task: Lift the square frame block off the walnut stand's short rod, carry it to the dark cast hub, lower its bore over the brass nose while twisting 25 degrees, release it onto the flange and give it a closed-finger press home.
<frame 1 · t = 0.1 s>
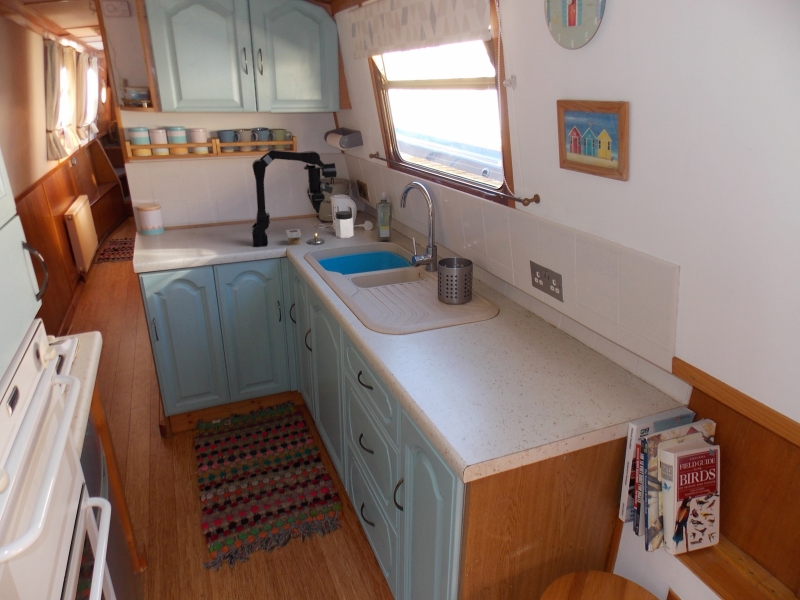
hand: (316, 211, 273), 15 cm above the worktop, fingers open, 9 cm apart
square frame block: (293, 236, 271), point 4 cm above the worktop, touching stand
stand: (294, 244, 272), on the worktop
hub: (316, 242, 274), on the worktop
jar: (344, 236, 285), on the worktop
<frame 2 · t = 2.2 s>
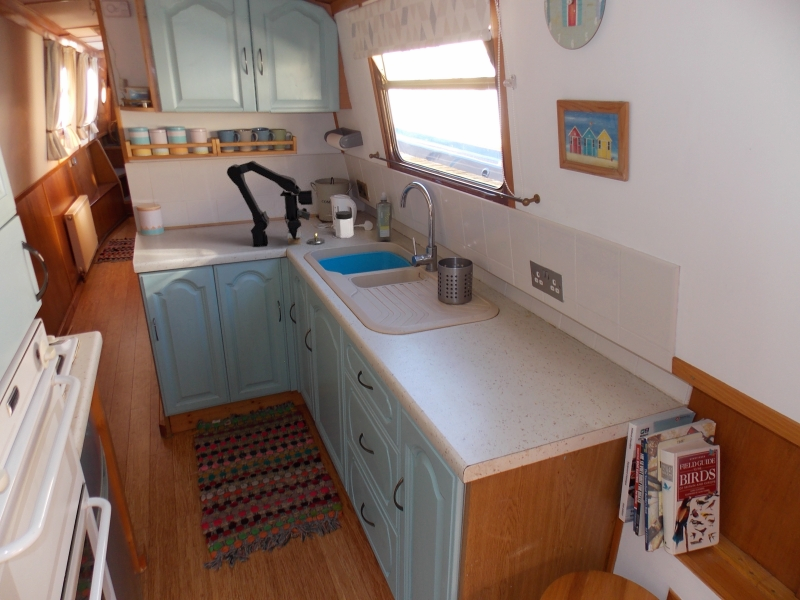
hand: (293, 237, 271), 3 cm above the worktop, fingers closed on square frame block, 7 cm apart
square frame block: (293, 236, 271), point 4 cm above the worktop, touching gripper, stand
everything else where it was.
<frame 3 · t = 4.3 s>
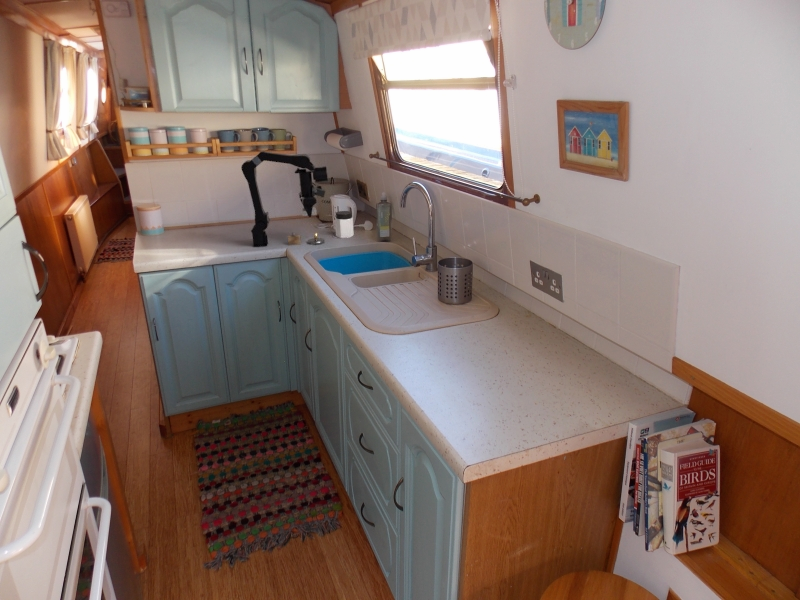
hand: (309, 215, 269), 14 cm above the worktop, fingers closed on square frame block, 7 cm apart
square frame block: (308, 213, 269), point 14 cm above the worktop, touching gripper
everything else where it was.
when the fingers open (2 cm above the worktop, at t = 6.7 s): square frame block drops 2 cm, resting on hub.
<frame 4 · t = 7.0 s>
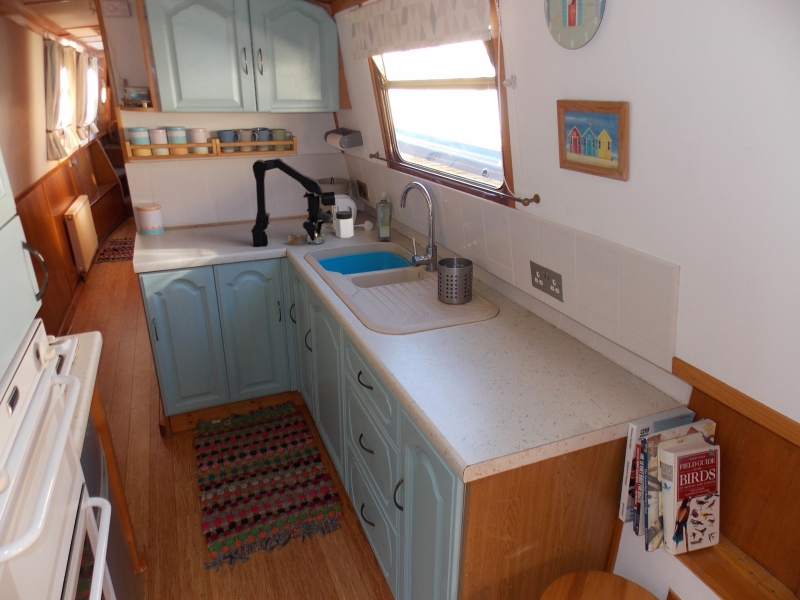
hand: (315, 238, 274), 2 cm above the worktop, fingers open, 9 cm apart
square frame block: (316, 240, 274), point 1 cm above the worktop, touching hub
everything else where it was.
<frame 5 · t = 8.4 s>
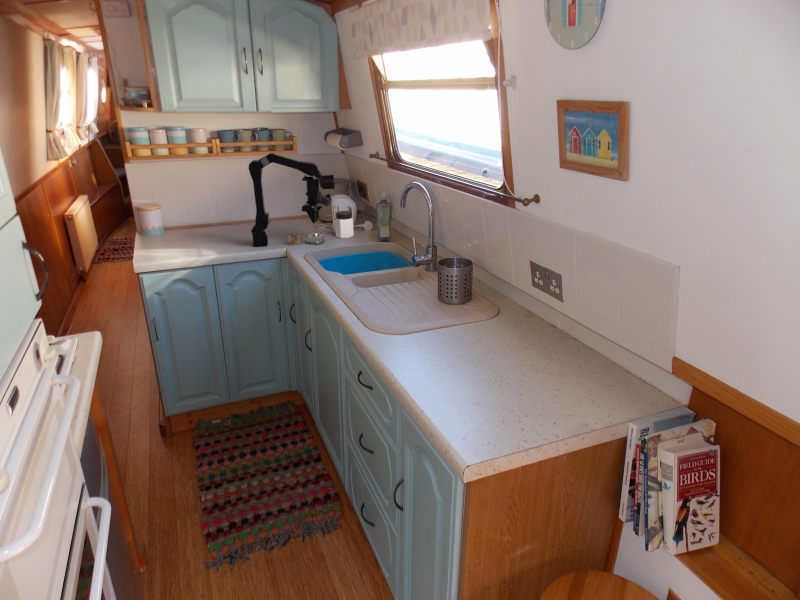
hand: (315, 222, 271), 10 cm above the worktop, fingers open, 3 cm apart
nothing on the worktop moved.
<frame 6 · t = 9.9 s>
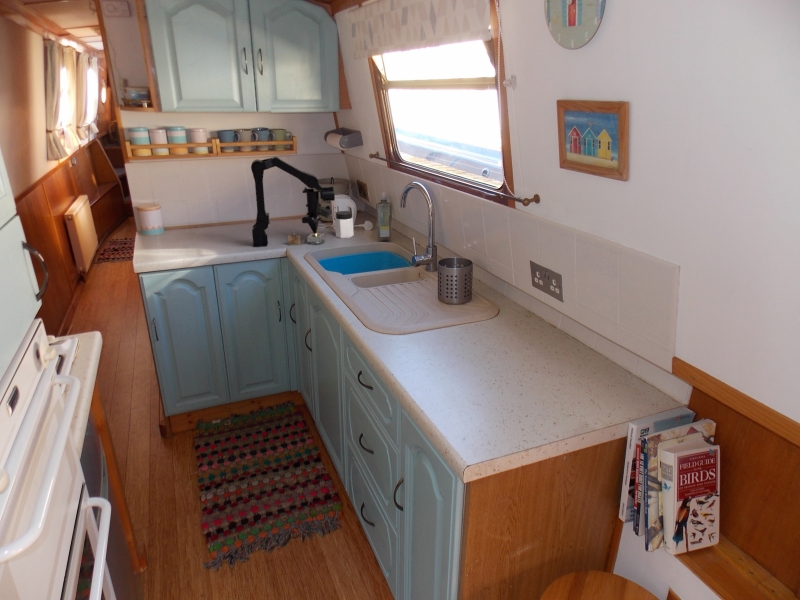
hand: (315, 233, 275), 4 cm above the worktop, fingers closed
nothing on the worktop moved.
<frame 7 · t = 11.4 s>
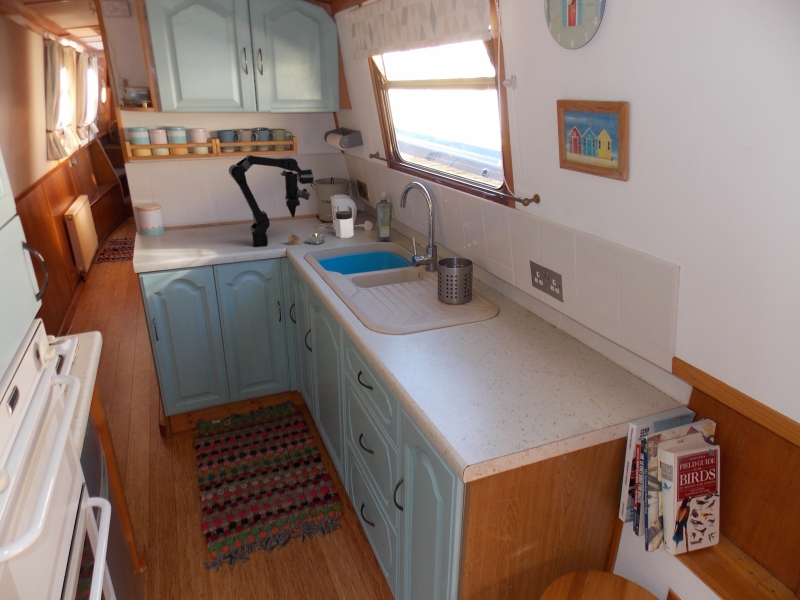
hand: (293, 217, 274), 12 cm above the worktop, fingers closed
nothing on the worktop moved.
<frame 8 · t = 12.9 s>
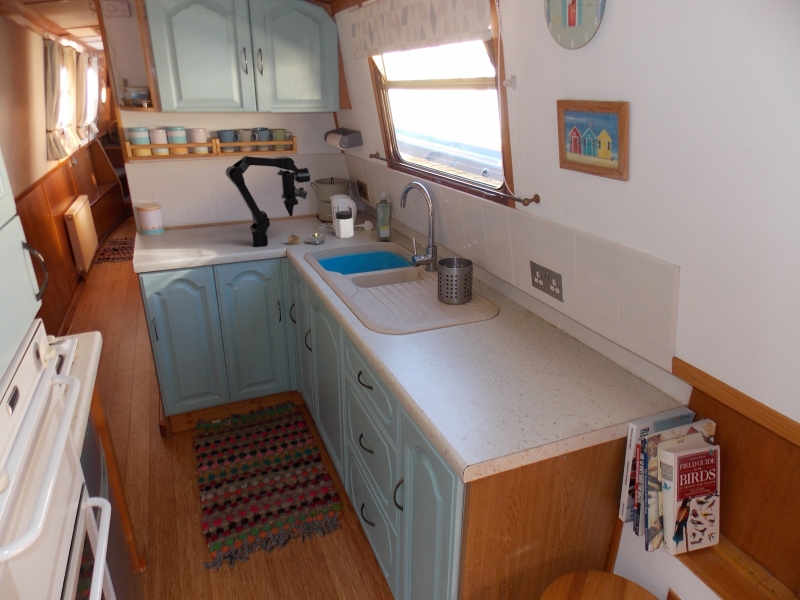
hand: (291, 216, 275), 12 cm above the worktop, fingers closed
nothing on the worktop moved.
at the end: square frame block 0.0 cm off-centre on the hub, point 1.2 cm above the hub's base; square frame block tilted 0°; the gripper is holding nothing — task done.
